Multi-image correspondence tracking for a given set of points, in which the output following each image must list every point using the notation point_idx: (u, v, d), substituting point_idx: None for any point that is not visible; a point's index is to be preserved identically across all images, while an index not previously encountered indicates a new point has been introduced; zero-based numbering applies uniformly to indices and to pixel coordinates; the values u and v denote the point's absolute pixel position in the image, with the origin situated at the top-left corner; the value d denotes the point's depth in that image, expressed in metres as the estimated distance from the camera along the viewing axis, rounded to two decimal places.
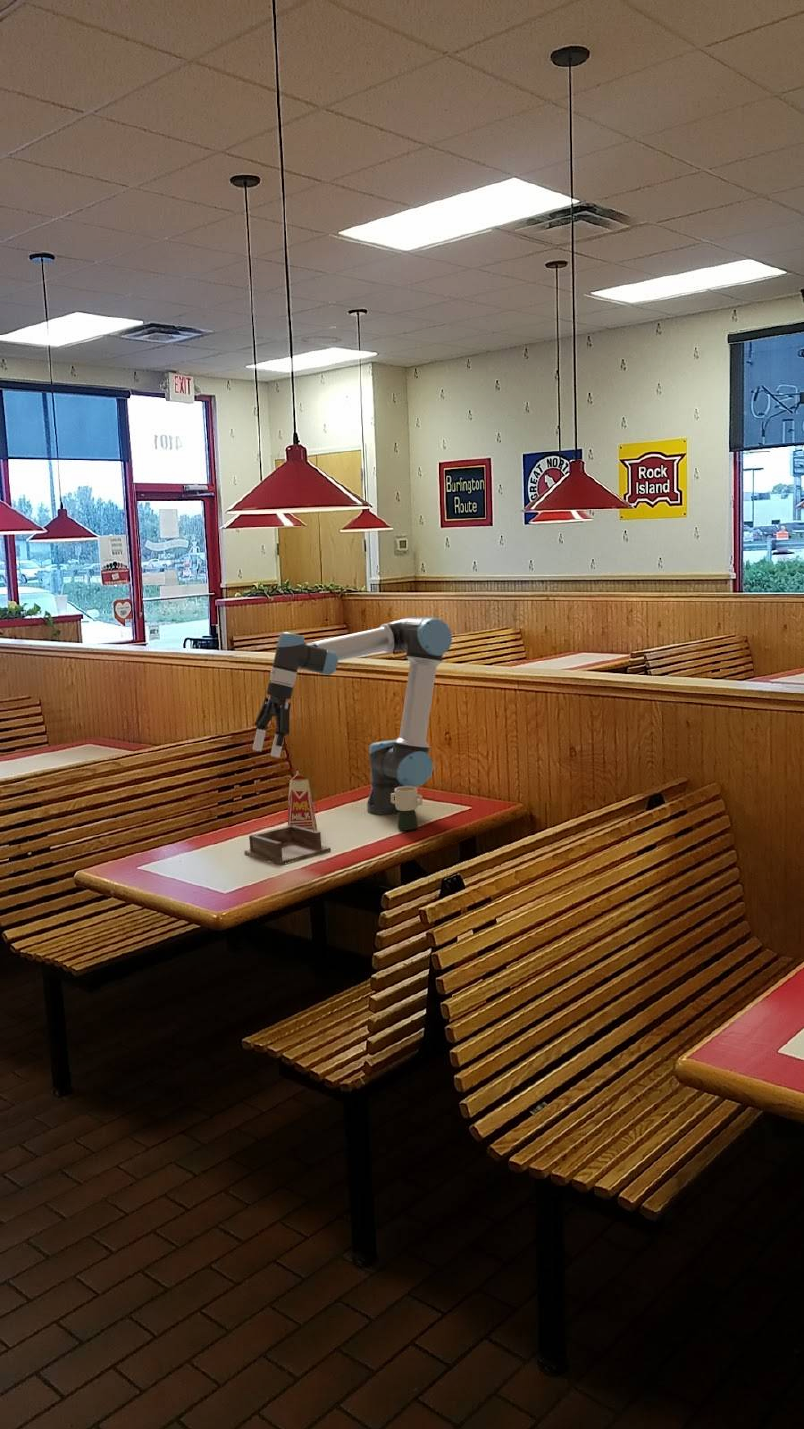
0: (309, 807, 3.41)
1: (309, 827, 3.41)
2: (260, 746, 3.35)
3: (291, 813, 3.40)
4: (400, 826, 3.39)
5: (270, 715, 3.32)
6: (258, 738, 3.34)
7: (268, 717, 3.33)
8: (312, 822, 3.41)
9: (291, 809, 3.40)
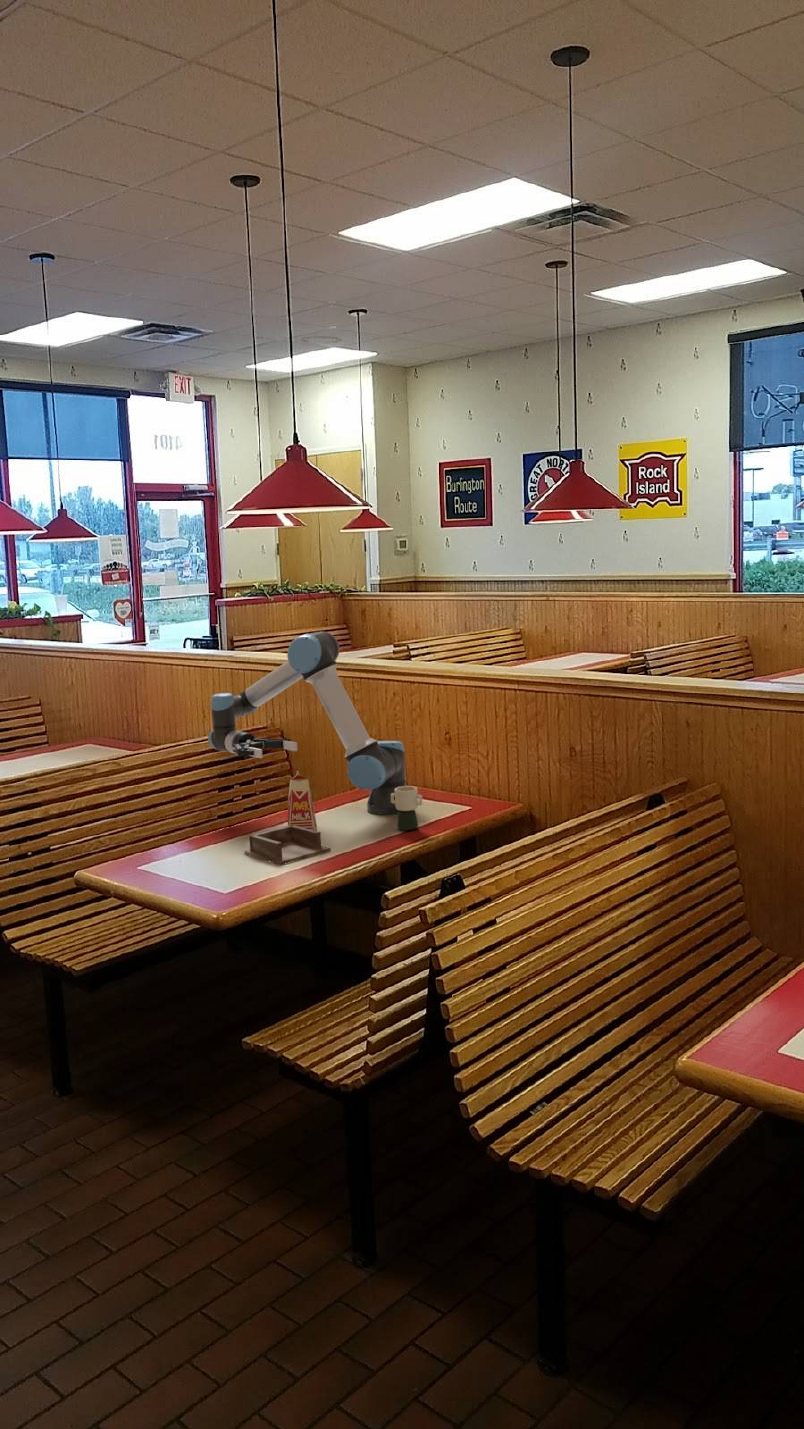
0: (309, 807, 3.41)
1: (309, 827, 3.41)
2: (292, 744, 3.54)
3: (291, 813, 3.40)
4: (400, 826, 3.39)
5: (267, 743, 3.60)
6: (288, 747, 3.56)
7: (269, 744, 3.60)
8: (312, 822, 3.41)
9: (291, 809, 3.40)
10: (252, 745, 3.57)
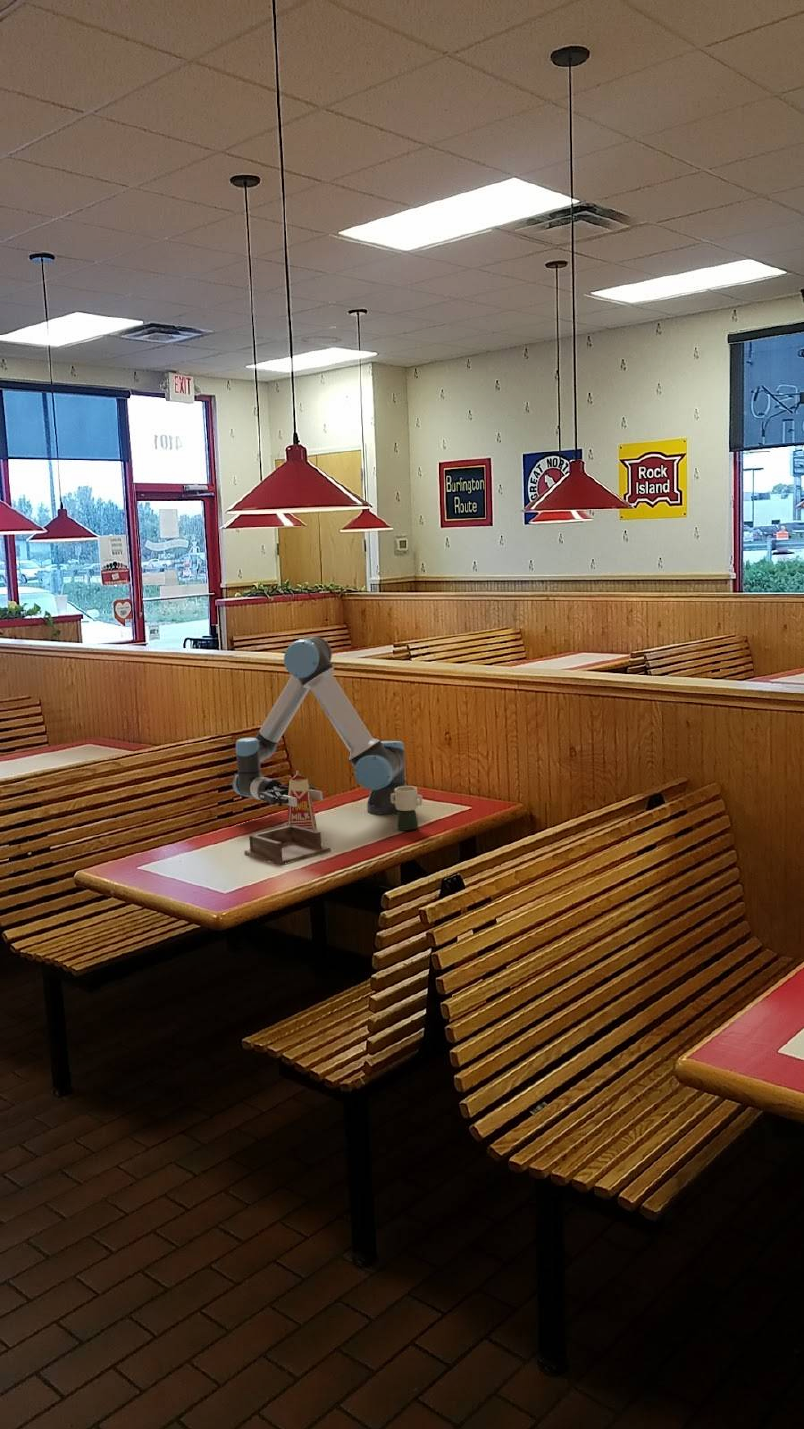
0: (309, 807, 3.40)
1: (309, 827, 3.41)
2: (317, 793, 3.45)
3: (291, 813, 3.40)
4: (400, 826, 3.39)
5: None
6: (313, 796, 3.47)
7: None
8: (312, 822, 3.41)
9: (291, 809, 3.40)
10: (278, 792, 3.49)
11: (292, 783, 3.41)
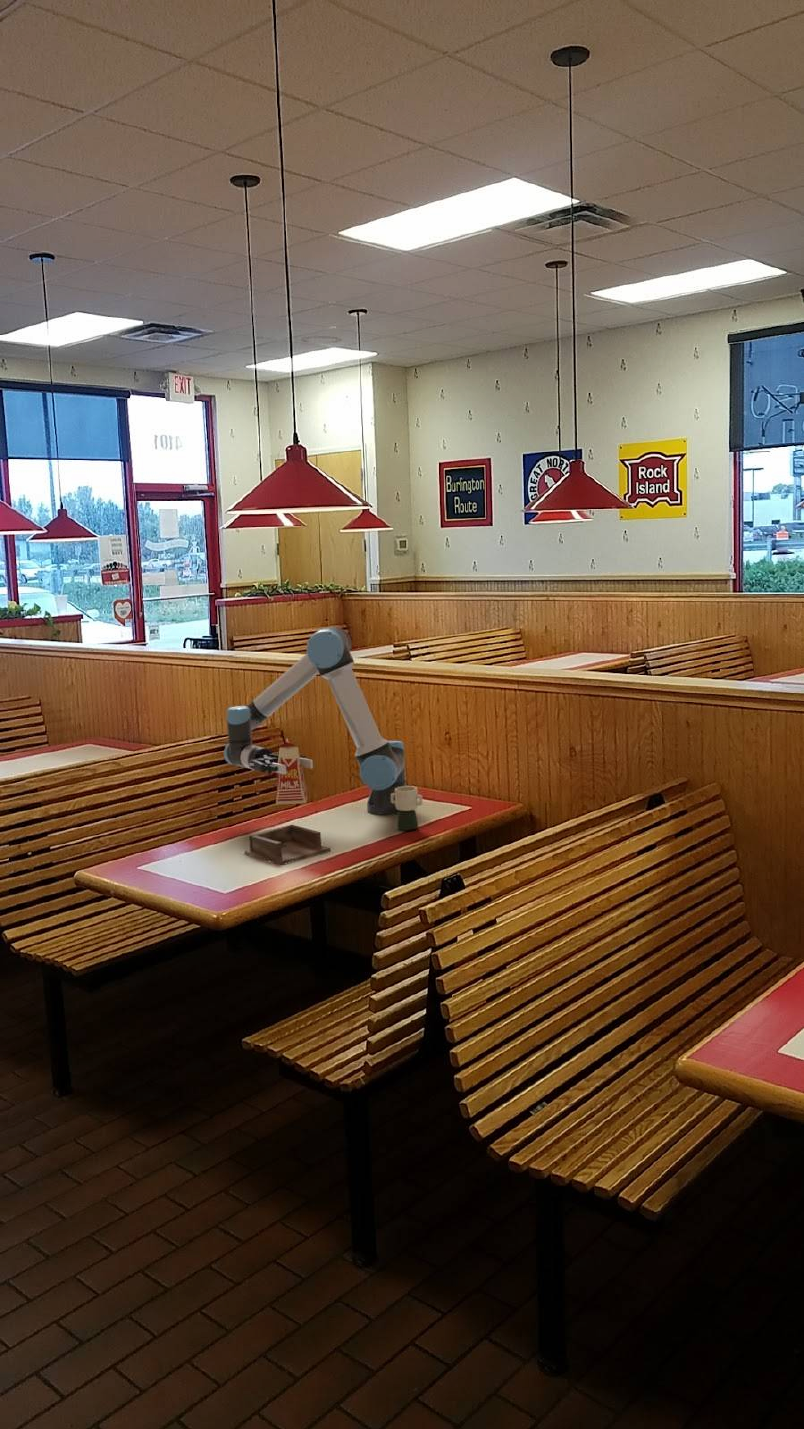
0: (298, 775, 3.34)
1: (298, 795, 3.35)
2: (307, 761, 3.39)
3: (280, 781, 3.34)
4: (400, 826, 3.39)
5: None
6: (303, 765, 3.41)
7: None
8: (301, 790, 3.35)
9: (280, 777, 3.34)
10: (268, 761, 3.44)
11: (282, 750, 3.35)
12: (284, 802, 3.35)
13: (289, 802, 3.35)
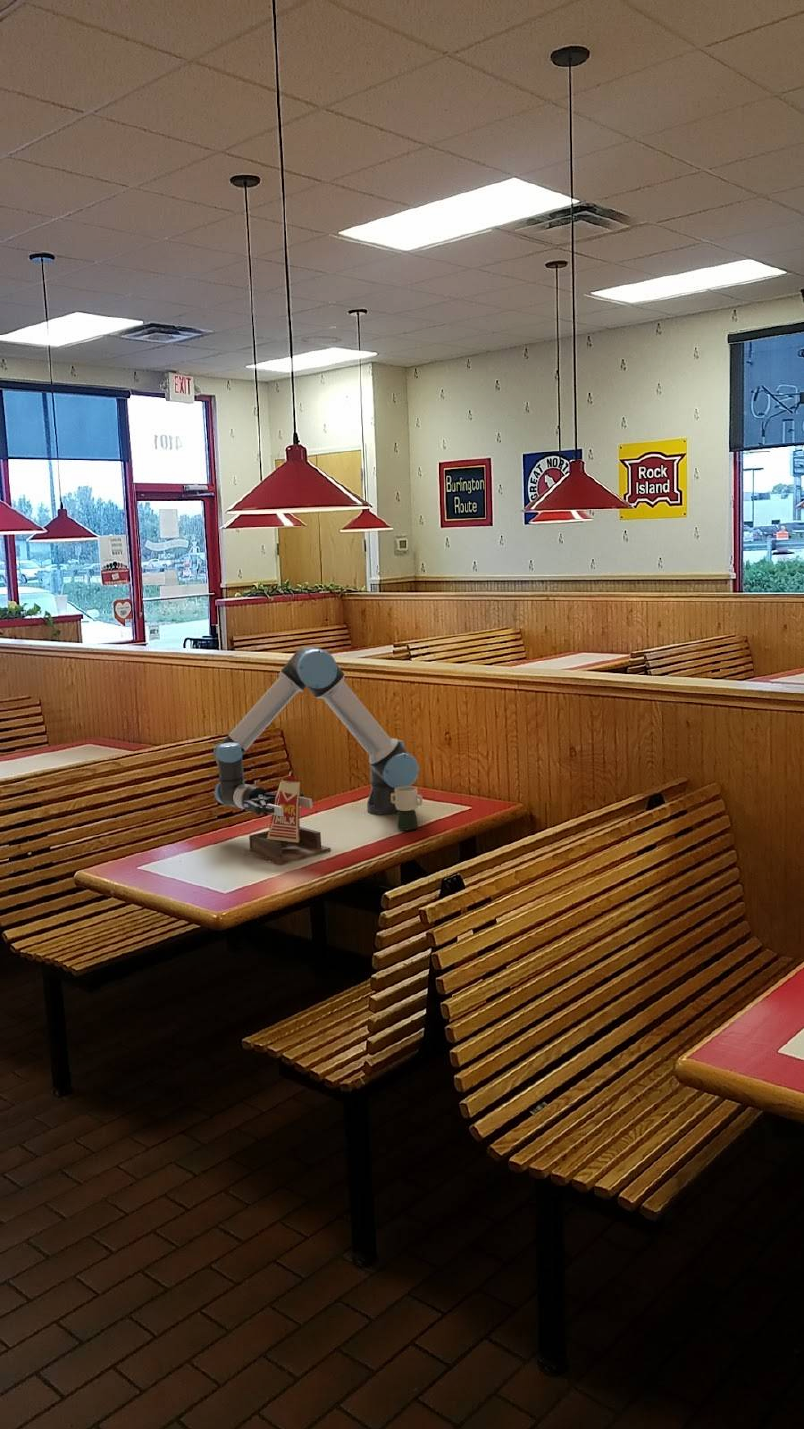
0: (295, 812, 3.18)
1: (292, 833, 3.17)
2: (306, 800, 3.22)
3: (275, 815, 3.17)
4: (400, 826, 3.39)
5: None
6: (302, 804, 3.24)
7: None
8: (296, 828, 3.17)
9: None
10: (264, 801, 3.26)
11: (283, 783, 3.19)
12: (276, 838, 3.17)
13: (281, 839, 3.17)
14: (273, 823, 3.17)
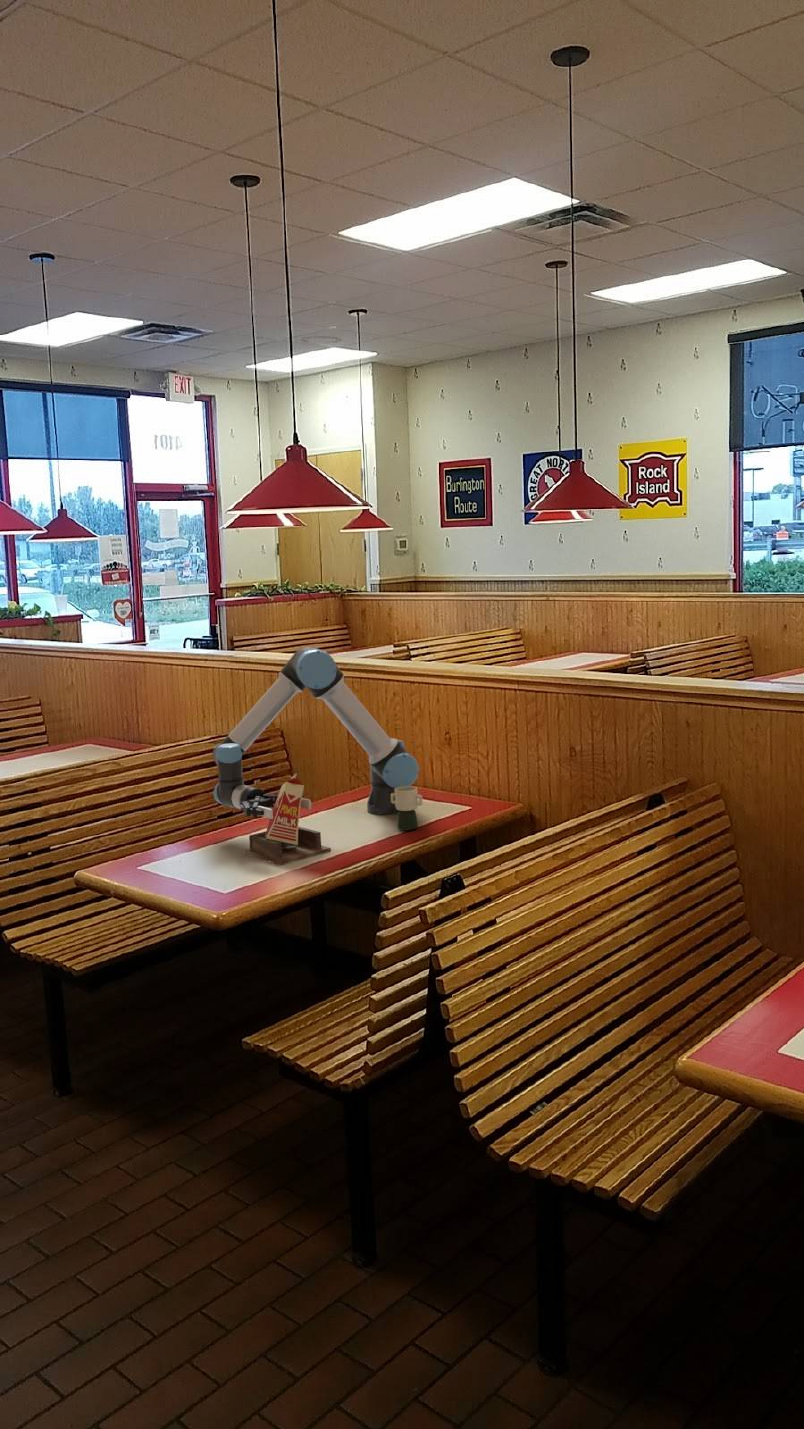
0: (297, 814, 3.19)
1: (292, 835, 3.18)
2: (305, 801, 3.24)
3: (277, 815, 3.17)
4: (400, 826, 3.39)
5: None
6: (301, 805, 3.25)
7: None
8: (296, 830, 3.18)
9: (278, 811, 3.18)
10: (261, 802, 3.26)
11: (287, 785, 3.20)
12: (275, 838, 3.17)
13: (280, 839, 3.17)
14: (274, 823, 3.17)
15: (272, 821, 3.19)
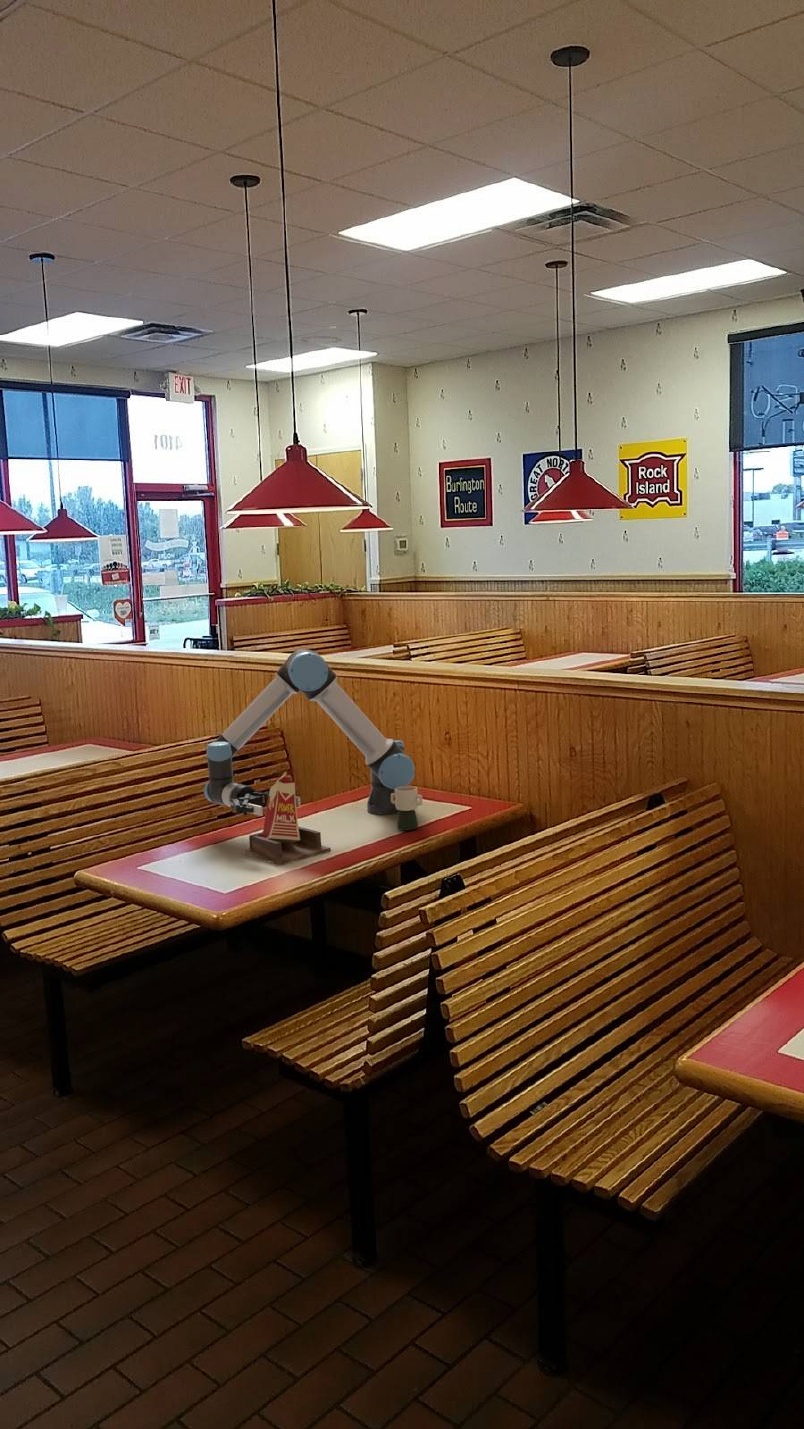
0: (295, 810, 3.22)
1: (293, 831, 3.20)
2: None
3: (276, 814, 3.19)
4: (400, 826, 3.39)
5: (267, 798, 3.32)
6: None
7: None
8: (296, 826, 3.21)
9: (276, 810, 3.20)
10: (251, 800, 3.30)
11: (279, 784, 3.23)
12: (278, 836, 3.18)
13: (283, 837, 3.18)
14: (274, 822, 3.18)
15: (271, 821, 3.20)
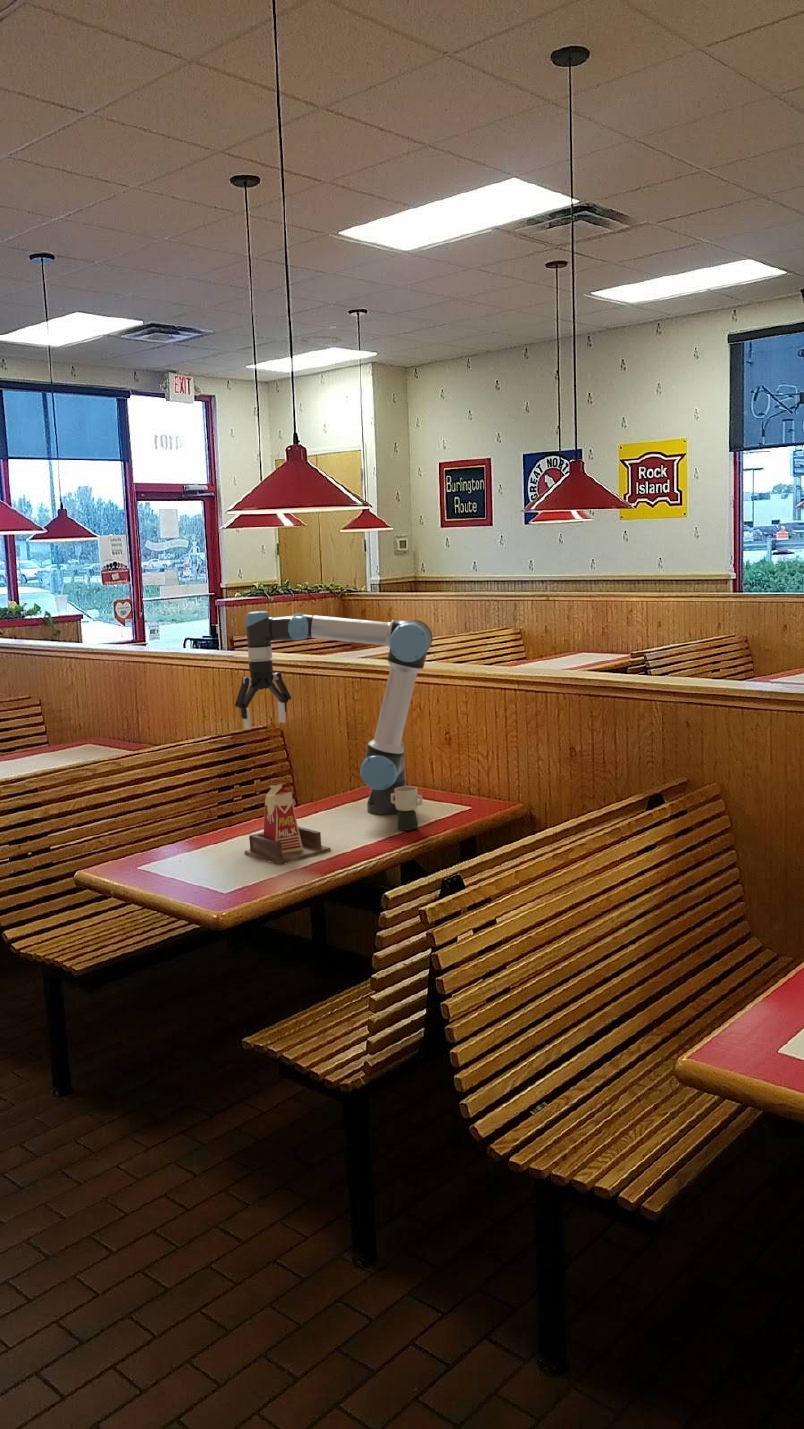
0: (295, 821, 3.20)
1: (296, 843, 3.20)
2: (282, 718, 3.60)
3: (278, 830, 3.17)
4: (400, 826, 3.39)
5: (271, 689, 3.57)
6: (279, 710, 3.60)
7: (273, 691, 3.57)
8: (299, 837, 3.20)
9: (277, 825, 3.17)
10: None
11: (276, 797, 3.17)
12: (282, 851, 3.18)
13: (287, 851, 3.19)
14: (277, 838, 3.17)
15: (273, 836, 3.18)
